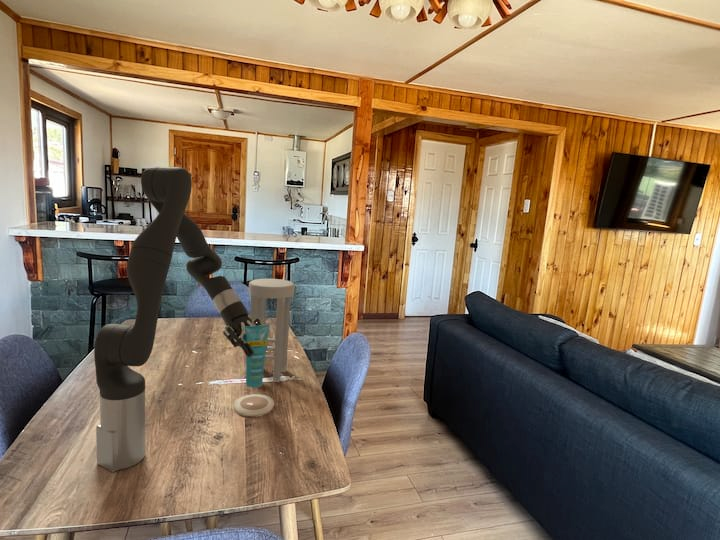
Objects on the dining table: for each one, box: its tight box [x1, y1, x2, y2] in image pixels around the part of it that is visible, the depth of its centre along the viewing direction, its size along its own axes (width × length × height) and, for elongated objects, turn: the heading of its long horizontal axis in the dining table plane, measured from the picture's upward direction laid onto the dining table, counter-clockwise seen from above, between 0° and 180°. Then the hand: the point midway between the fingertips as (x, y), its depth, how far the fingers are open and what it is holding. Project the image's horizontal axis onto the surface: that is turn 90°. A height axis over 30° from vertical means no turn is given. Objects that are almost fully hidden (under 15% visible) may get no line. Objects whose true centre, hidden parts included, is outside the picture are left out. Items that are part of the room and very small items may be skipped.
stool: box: [248, 278, 296, 384], centre depth 149 cm, size 16×16×35 cm
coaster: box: [233, 393, 275, 417], centre depth 128 cm, size 12×12×1 cm
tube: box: [245, 323, 271, 388], centre depth 126 cm, size 7×5×19 cm, turn 123°
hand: (258, 352), depth 125 cm, fingers closed on tube, 5 cm apart
